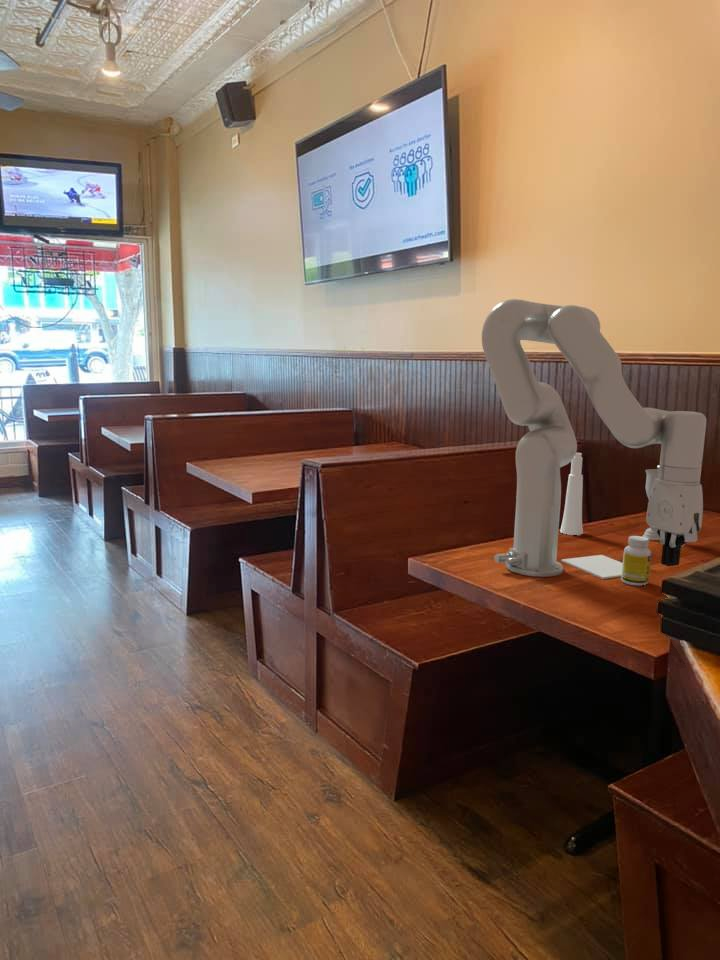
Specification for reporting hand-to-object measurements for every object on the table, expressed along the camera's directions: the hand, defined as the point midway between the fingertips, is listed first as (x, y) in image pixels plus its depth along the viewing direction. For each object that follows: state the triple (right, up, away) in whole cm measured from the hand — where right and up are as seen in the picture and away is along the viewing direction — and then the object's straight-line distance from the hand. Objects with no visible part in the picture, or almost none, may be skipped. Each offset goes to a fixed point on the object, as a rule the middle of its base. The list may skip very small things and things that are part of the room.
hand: (669, 564), depth 140 cm
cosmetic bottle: (-5, +2, +50) cm, 51 cm away
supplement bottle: (-4, -5, +9) cm, 11 cm away
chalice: (+16, +1, +47) cm, 50 cm away
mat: (-7, -3, +20) cm, 21 cm away
